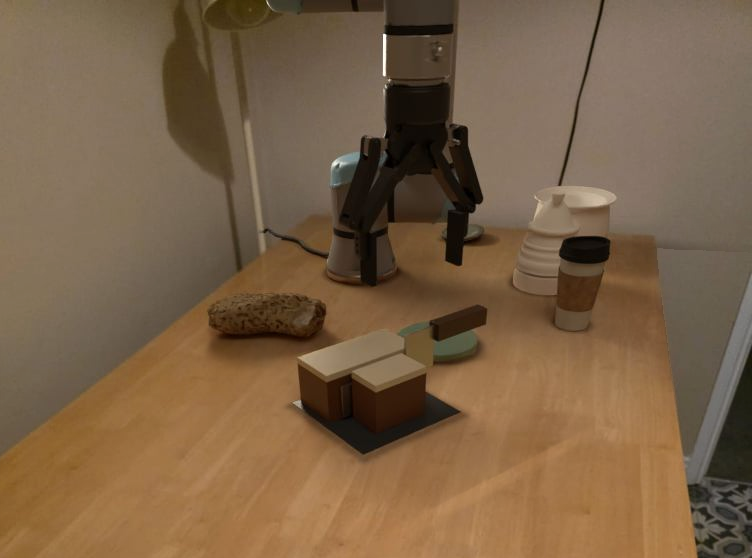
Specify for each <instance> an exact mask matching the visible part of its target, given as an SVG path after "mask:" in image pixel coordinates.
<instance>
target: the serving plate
mask: <svg viewBox="0 0 752 558" xmlns="http://www.w3.org/2000/svg"><path fill="white" fill-rule="evenodd" d="M428 326H429V321H422V322H417V323H416V322H415V323H412V324H410V325H407V326H405V327H403V328H402V329H400V330H399V331H398V332H397V333H396V334H397V335H399V336H400V337H402V338H404V335H405V334H407V333H410V332H413V331H416V330H419V329H422V328H425V327H428ZM478 341H479V338H478V336H477V334H476V332H475V331H473V329H472V330H469V331H467V332H464V333H461V334H458V335H456V336H453V337H450V338H447V339H445V340H442V341H439V342H437V341H435V340H434V350H433V362H435V361H436V362H437V361H439V362H443V361H453V360H458V359H461V358H464V357H466V356H473V355H474V354H475V353H476V352H477V348H478Z"/></svg>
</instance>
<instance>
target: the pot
mask: <svg viewBox="0 0 752 558" xmlns="http://www.w3.org/2000/svg"><path fill="white" fill-rule="evenodd" d="M553 191H562V192H565V197H564V199H563V201H564V202H565V203H566V205H567V207H568V209H569V211H570V214H571V217H572V220H573V221H575V222H577V223H578V224H579V226H580V229H579V231H578V232H577V233H575V235H576V236H602V237H605V238H608V235H609V230H610V220H611V219H610V218H611V216H610V215H611V213H610V212H611V211H610V210H611V205H614V204H615V203H616V202H617V199H618V198H617V196H616V194H615V193H613V192H611V191H609V190H606V189H602V188H600V187H599V188H598V187H593V186H582V185H558V186H550V187H545V188H542V189H539V190H537V191H536V192H535V193H534V199H535V200H536V201H538V203H537V206H536V209H535V212H534V217H533V220H534V219H535V217H536V216H537V214H538V213H539V211H540V210H541V208H542V207H543V206H544V205H545V203H546V202H548V201H549V200H550V199H552V198H551V192H553Z"/></svg>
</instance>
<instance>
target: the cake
mask: <svg viewBox="0 0 752 558" xmlns="http://www.w3.org/2000/svg"><path fill="white" fill-rule="evenodd" d="M397 334H398V333H394V332H393V331H391V330H389V329H387V328H384V327H383V328H380V329H377V330H373V331H371V332H368V333H366V334H363V335H360V336H357V337H353V338H350V339H347V340H345V341H341V342H339V343H335V344H332V345H330V346H327V347H324V348H321V349H317V350H315V351H312V352H311V351H310V352H308V353H306V354H303V355H300V356H297V357H296V360H297V370H298V371H297V372H298V373H297V374H298V385H299V395H300V396H299V397H300V400H301V403H302V404H303V405H305V406H306V407H307V408H309V409H310V410H312V411H313V412H314V413H316V414H317V415H319V416H320V417H321V418H323V419H324V420H325V421H327V422H328V423H331V422H334V421H336V420H339V419H341V418H342V410H341V390H340V386H343V385H345V384H348V383H351V382H352V372H351V371H354V370H357V369H359V368H362V367H365V366H368V365H370V364H373V363H376V362H379V361H381V360H384V359H387V358H390V357H392V356H395V355H398V354H401V353H402V354H404V338H402V337H400V336H399V335H397Z"/></svg>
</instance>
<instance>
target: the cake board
mask: <svg viewBox="0 0 752 558" xmlns="http://www.w3.org/2000/svg"><path fill="white" fill-rule="evenodd" d="M292 404H293V405H294V406H295V407H297V408H298V409H300V410H301V411H302V412H303V413H305V414H306V415H308V416H309V417H310V418H312V419H313V420H315V421H316V422H318V423H319V424H320V425H322V426H323V427H324V428H325V429H327V430H328V431H329V432H331V433H332V434H333V435H335V436H336V437H337V438H339V439H340V440H342V441H343V442H345V443H346V444H348V445H349V446H351V447H352V449H354V450H356V451H357V452H359V454H361V455H363V456H365V455H367V454H369V453H372V452H374V451H376V450H379V449H380V448H384V447H386V446H387V445H390V444H392V443H394V442H396V441H399V440H401V439H403V438H405V437H408V436H411V435H413V434H416V433H417V432H419V431H421V430H424V429H426V428H428V427H431V426H433V425H436V424H438V423H440V422H442V421H444V420H446V419H449V418H451V417H453V416H456V415H458V414H461V413H462V411H461V410H460V409H457V408H456V407H454V406H452V405H451V404H449V403H447V402H445V401H443V400H442V399H440V398H438V397H436V396H435V395H433V394H431V393H430V392H428V391H426V394H425V413H424V414H422V415H420V416H417V417H415V418H413V419H410V420H408V421H405V422H403V423H401V424H398V425H396V426H394V427H391V428H389V429H387V430H384V431H382V432H380V433H377V434H376V433H374V432H373V431H371V430H370V429H368V428H367V427H365V426H364V425H362V424H361V423H360V422H358V421H357V420H355V419H354V418H353V415H350V416H348V417H345V418H341V419H339V420H336V421H334V422H331V423H328V422H327V421H325V420H324V419H323V418H321V417H320V416H319V415H317V414H316V413H314V412H313V411H312V410H310V409H309V408H307V407H306V406H305V405H303V404H302V403H301V399H298V400H296V401H293V402H292Z"/></svg>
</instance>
